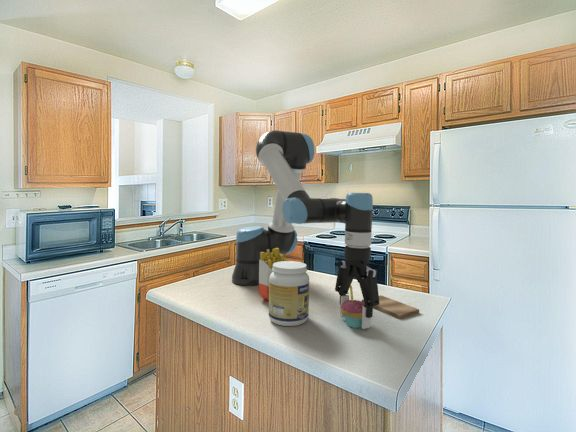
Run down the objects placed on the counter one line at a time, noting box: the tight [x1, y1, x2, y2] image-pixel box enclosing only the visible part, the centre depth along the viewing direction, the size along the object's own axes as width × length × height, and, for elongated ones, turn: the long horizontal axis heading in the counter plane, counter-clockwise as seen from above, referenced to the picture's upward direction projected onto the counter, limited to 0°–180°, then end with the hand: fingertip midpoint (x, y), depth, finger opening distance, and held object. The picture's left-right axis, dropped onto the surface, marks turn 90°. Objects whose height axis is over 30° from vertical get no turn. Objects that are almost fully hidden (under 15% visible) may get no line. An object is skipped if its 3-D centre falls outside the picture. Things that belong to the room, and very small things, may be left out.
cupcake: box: [340, 283, 365, 329], centre depth 91 cm, size 9×8×12 cm
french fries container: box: [258, 248, 288, 302], centre depth 111 cm, size 5×11×18 cm, turn 139°
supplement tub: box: [268, 260, 310, 327], centre depth 94 cm, size 12×12×17 cm
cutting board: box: [361, 294, 420, 320], centre depth 105 cm, size 16×10×1 cm, turn 32°
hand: (354, 321), depth 91 cm, fingers closed on cupcake, 8 cm apart
